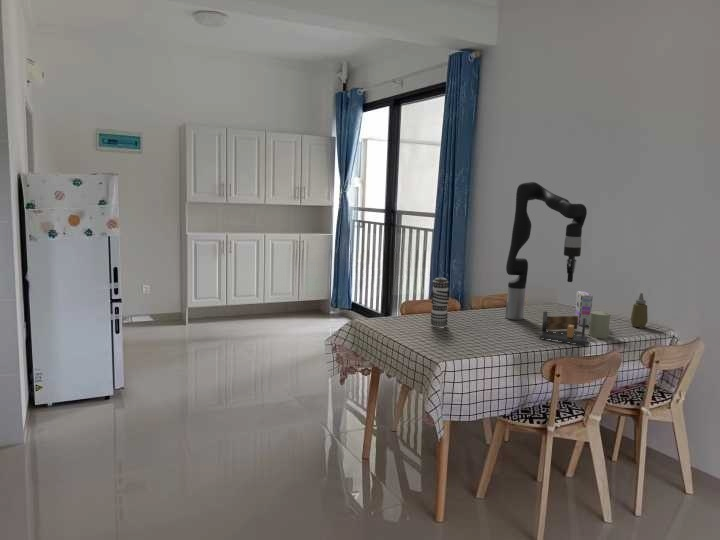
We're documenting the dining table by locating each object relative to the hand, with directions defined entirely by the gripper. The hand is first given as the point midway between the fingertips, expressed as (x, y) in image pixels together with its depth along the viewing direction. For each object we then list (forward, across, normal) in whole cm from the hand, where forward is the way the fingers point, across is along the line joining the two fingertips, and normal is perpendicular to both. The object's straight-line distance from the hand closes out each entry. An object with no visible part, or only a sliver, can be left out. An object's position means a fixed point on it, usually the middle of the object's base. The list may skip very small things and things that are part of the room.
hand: (569, 281), depth 269 cm
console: (+27, -8, 0) cm, 28 cm away
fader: (+25, -8, -3) cm, 26 cm away
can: (+27, +10, -14) cm, 32 cm away
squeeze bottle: (+27, +41, -31) cm, 58 cm away
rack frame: (+27, +5, +2) cm, 28 cm away
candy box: (+27, +34, -4) cm, 44 cm away
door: (+26, +10, +3) cm, 28 cm away
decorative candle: (+27, -14, +60) cm, 67 cm away
